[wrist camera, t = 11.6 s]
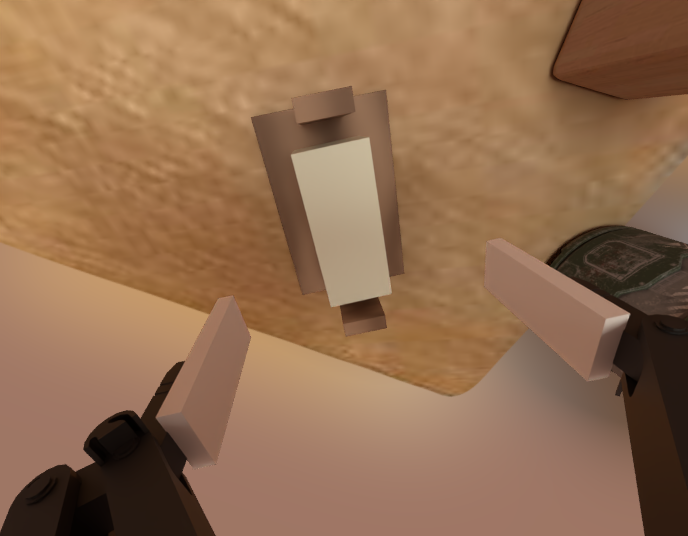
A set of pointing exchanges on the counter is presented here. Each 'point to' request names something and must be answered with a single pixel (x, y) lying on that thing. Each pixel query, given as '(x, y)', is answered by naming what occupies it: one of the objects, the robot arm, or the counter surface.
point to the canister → (631, 269)
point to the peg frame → (276, 147)
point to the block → (627, 48)
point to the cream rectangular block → (344, 218)
